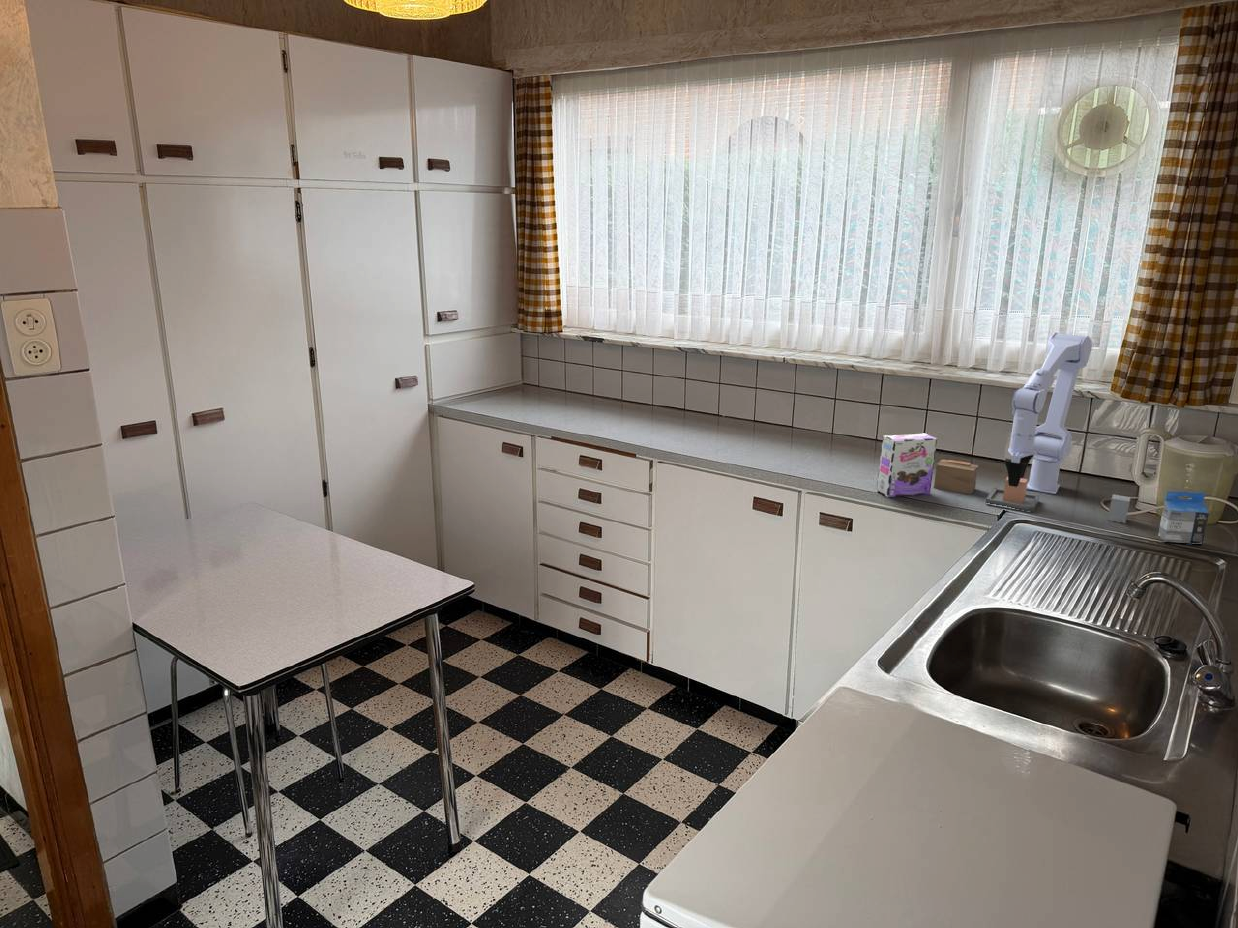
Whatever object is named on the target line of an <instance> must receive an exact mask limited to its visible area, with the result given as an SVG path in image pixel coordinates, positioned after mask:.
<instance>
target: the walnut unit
mask: <svg viewBox="0 0 1238 928" xmlns="http://www.w3.org/2000/svg"><path fill="white" fill-rule="evenodd" d="M978 471H979V465H978V464H974V463H973V464H972V463H971V462H964V461H959V460H953V459H948V460H947V459H941V460H940V461H939V462H938V463H937V464H936V468H935V476H934V483H933V488H934V489H938V490H945V491H949V490H950V492H954V493H956V492H957V493H960V492H961V494H967V495H971V494H972V493H973V492H974V490H976V485H977V477H978V473H979V472H978Z"/></svg>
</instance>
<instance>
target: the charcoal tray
mask: <svg viewBox="0 0 1238 928" xmlns="http://www.w3.org/2000/svg"><path fill="white" fill-rule="evenodd" d="M1003 493H1004V489H1003V488H996V487H994V488H993V489H992V490H991V492H990V493H989V494H988V496H987V498H986V499H985V504H986V503H990V504H996V505H1002V506H1007V507H1011V508H1015V509H1019V510H1024V511H1030V512H1032V511H1033V512H1034V510H1035V509H1036V507H1035V506H1037V505H1038V503H1039V501H1040V495H1038V494H1031V493H1026V495H1025V500H1024V502H1023V504H1019V503H1013V502H1008V501H1002V500H1003ZM1036 504H1037V505H1036ZM1034 508H1035V509H1034ZM1024 511H1023V512H1024ZM1033 512H1032V513H1033Z"/></svg>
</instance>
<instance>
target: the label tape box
mask: <svg viewBox="0 0 1238 928" xmlns="http://www.w3.org/2000/svg"><path fill="white" fill-rule="evenodd" d="M1206 495H1207V494H1206V492H1198V491H1197V492H1195V491H1179V490H1178V491H1177V490H1176V491H1175V490H1167V492H1166V495H1165V499H1164V502H1163V507H1162V513H1161V519H1160V523H1159V529H1158V534H1157V537H1158V536H1160V537H1161V538H1163V539H1165V540H1173V541H1180V542H1188V543H1202V542H1203V543H1204V542H1205V536H1206V531H1207V529H1208V526H1207V525H1208V522H1209V517H1210V512H1209V510H1208V508H1207V507H1206V504H1205V503H1204V501H1205V497H1206ZM1185 496H1186V497H1187V498H1181V497H1185ZM1188 497H1189V498H1188Z"/></svg>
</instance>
